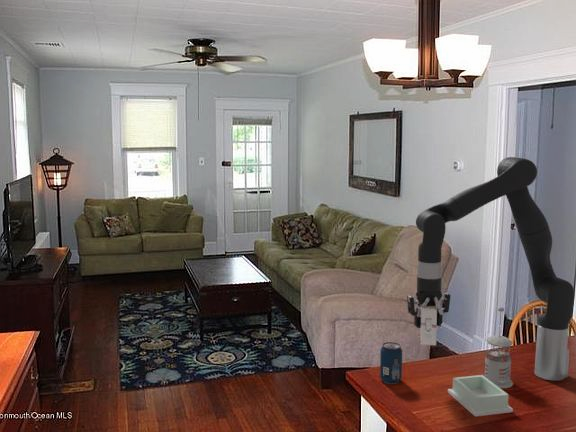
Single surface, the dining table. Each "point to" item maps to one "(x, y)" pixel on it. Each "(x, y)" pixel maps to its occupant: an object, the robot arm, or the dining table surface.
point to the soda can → (391, 363)
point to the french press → (499, 360)
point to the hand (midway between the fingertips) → (428, 326)
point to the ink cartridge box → (428, 325)
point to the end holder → (480, 395)
